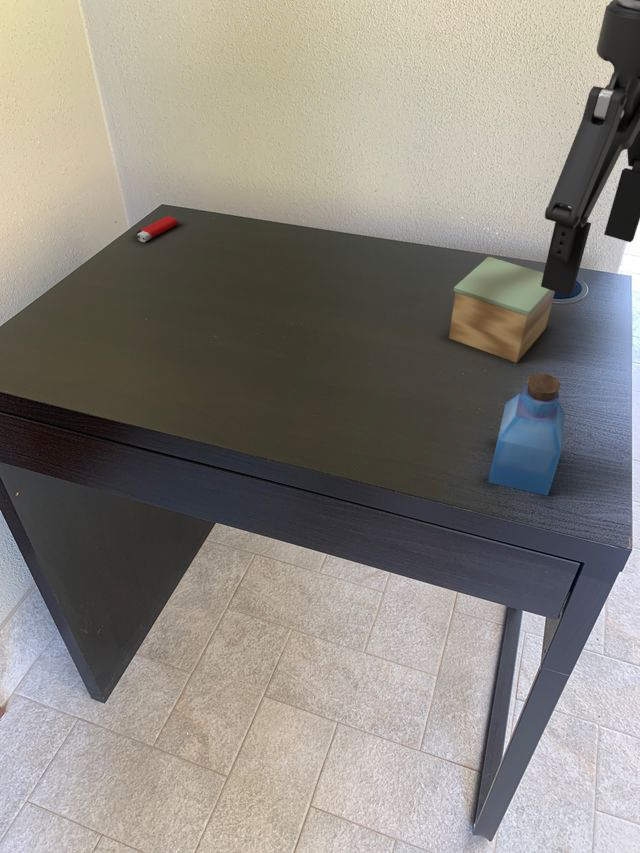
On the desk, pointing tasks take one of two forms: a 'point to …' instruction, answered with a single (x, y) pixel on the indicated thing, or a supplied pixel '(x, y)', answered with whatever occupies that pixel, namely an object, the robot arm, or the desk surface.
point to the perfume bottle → (530, 437)
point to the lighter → (156, 228)
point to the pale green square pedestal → (500, 308)
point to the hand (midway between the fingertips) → (589, 262)
